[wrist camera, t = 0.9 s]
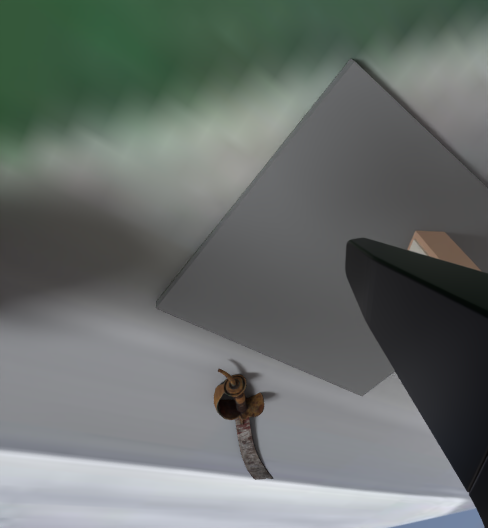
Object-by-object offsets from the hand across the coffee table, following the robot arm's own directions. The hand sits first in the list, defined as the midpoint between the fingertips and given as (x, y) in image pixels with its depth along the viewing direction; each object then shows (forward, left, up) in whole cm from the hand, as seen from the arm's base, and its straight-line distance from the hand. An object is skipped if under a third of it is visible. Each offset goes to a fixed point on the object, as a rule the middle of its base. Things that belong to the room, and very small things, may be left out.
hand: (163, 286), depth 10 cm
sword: (-21, -22, -14) cm, 34 cm away
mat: (-2, -16, -13) cm, 20 cm away
